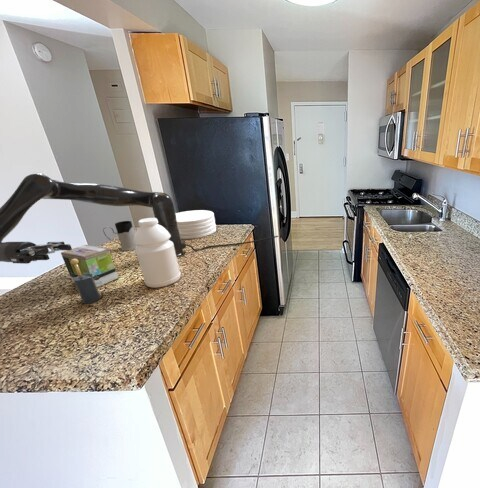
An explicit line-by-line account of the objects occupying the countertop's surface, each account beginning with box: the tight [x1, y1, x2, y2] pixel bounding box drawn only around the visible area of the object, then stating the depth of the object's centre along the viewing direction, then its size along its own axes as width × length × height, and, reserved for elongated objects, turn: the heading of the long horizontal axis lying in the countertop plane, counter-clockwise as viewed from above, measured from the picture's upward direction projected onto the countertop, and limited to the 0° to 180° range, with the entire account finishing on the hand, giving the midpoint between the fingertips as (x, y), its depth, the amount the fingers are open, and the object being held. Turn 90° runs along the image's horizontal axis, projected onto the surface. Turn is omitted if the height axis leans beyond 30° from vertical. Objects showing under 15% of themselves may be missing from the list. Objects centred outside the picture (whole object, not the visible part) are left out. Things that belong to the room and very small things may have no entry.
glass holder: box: [102, 220, 138, 251], centre depth 146 cm, size 9×14×15 cm, turn 116°
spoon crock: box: [70, 259, 101, 304], centre depth 98 cm, size 5×5×18 cm
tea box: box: [60, 244, 119, 288], centre depth 112 cm, size 15×10×15 cm, turn 71°
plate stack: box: [175, 209, 217, 240], centre depth 174 cm, size 28×28×12 cm
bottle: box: [133, 217, 182, 289], centre depth 110 cm, size 14×14×28 cm
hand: (59, 251), depth 94 cm, fingers open, 8 cm apart
